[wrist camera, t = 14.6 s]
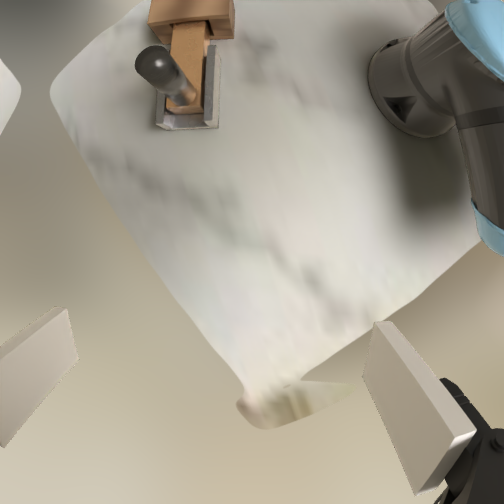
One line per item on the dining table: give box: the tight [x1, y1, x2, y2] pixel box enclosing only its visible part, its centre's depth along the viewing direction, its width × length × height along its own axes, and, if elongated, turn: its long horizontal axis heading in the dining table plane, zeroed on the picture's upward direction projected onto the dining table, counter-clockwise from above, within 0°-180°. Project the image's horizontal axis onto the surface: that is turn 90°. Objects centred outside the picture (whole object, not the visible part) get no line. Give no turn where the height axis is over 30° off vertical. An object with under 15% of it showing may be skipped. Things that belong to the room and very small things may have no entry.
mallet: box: [135, 20, 211, 115], centre depth 25 cm, size 4×15×15 cm, turn 179°
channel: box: [156, 45, 221, 130], centre depth 33 cm, size 7×10×5 cm
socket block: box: [147, 0, 235, 44], centre depth 29 cm, size 10×5×7 cm, turn 89°
